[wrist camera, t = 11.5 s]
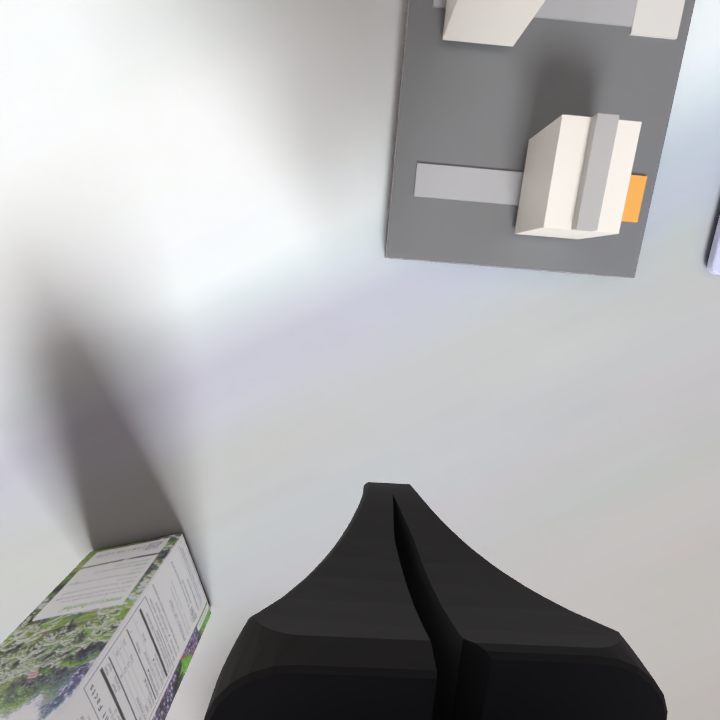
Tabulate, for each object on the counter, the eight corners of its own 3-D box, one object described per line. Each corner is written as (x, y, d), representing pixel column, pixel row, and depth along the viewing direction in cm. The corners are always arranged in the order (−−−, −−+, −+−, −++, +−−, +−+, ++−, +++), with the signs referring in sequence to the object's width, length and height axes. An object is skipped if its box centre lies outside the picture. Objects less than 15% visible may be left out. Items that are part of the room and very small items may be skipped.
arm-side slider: (595, 145, 18) (649, 118, 15) (578, 239, 19) (625, 232, 16) (528, 139, 18) (568, 110, 15) (514, 233, 19) (548, 226, 16)
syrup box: (124, 628, 25) (-182, 1101, 11) (89, 545, 24) (-308, 957, 10) (213, 610, 25) (23, 1069, 11) (183, 525, 23) (-79, 917, 9)
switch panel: (743, -296, 16) (772, -339, 15) (621, 277, 21) (636, 277, 20) (438, -334, 16) (444, -380, 15) (384, 257, 20) (386, 256, 19)
